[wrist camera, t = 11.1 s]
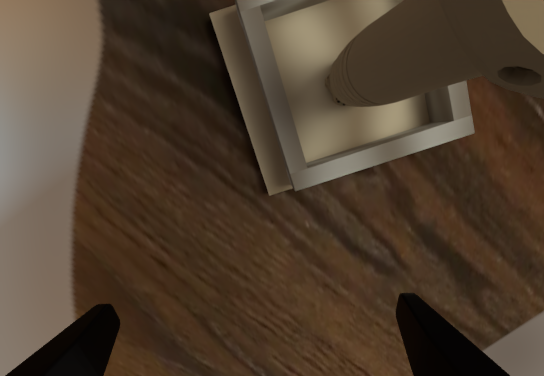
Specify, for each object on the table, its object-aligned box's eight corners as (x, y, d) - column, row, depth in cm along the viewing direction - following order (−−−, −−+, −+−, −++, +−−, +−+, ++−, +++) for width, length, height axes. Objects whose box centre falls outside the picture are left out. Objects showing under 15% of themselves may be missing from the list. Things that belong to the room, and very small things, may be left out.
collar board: (268, 193, 21) (270, 203, 18) (211, 19, 19) (201, -6, 16) (462, 130, 21) (501, 128, 18) (430, -53, 19) (469, -95, 15)
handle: (366, 135, 20) (677, 147, 5) (290, 93, 19) (420, -31, 4) (400, 73, 19) (865, -104, 5) (323, 26, 18) (608, -384, 4)
